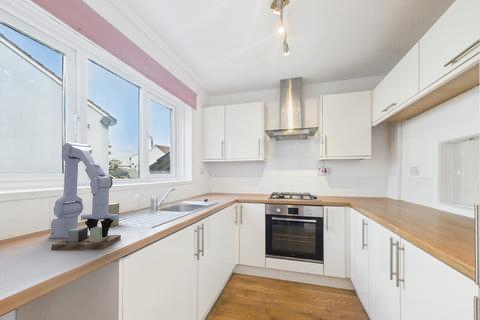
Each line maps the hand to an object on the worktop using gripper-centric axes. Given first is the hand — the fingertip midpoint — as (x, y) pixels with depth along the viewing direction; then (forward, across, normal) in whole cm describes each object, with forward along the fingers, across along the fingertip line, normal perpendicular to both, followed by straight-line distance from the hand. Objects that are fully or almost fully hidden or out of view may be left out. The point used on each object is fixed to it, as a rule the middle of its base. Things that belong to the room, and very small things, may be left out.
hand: (99, 236), depth 86 cm
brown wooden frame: (+3, -4, 0) cm, 5 cm away
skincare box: (+3, -12, +30) cm, 33 cm away
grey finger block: (+3, -8, 0) cm, 9 cm away
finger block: (+2, 0, 0) cm, 2 cm away
